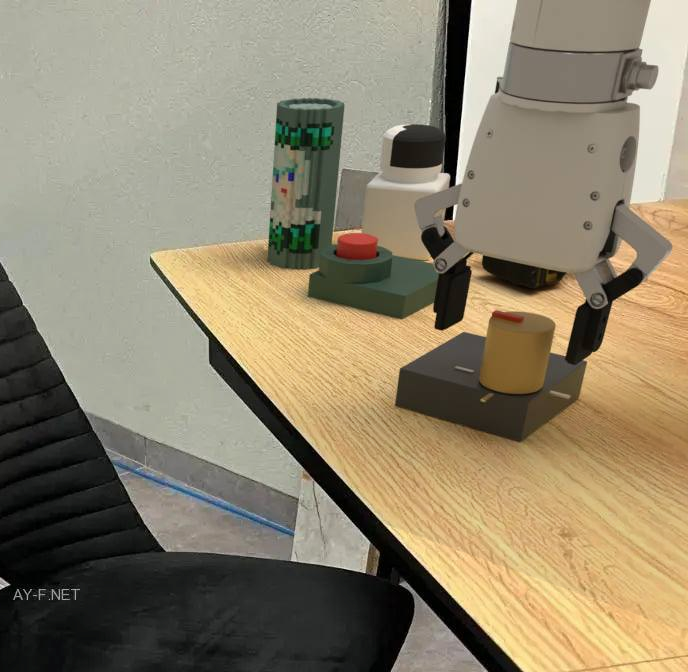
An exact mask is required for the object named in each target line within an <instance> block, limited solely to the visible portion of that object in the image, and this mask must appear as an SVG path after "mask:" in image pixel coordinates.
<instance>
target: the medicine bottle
mask: <svg viewBox="0 0 688 672" xmlns="http://www.w3.org/2000/svg"><path fill="white" fill-rule="evenodd" d="M446 138H447V135H446V133H445V131H444V130H442V129H440V128H438V127H436V126H434V125H429V124H418V123H409V124H399V125H395V126H393V127H390V128H388V129H387V130H386V131H385V132H384V133H383V135H382V144H381V154H380V162H379V163H380V164H379V170H380V171H379V172H378V173H377V174H376V175H375V176H374V177H373V178H372V179H371V180H370V181H369V182H368V183H366V187H365V197H364V204H363V205H364V206H363V215H362V222H361V223H362V225H361V233H363V234H369V235H373V236H375V237H377V238H378V244H377V246H381V247H384V248H386V249H388V250H389V251H391V252H392V255H394V256H399V257H404V258H409V259H414V260H419V261H423V262H428V260H430V258H431V255H430V254H429V252H428V251H427V249H426V247H425V246H424V244H423V243H422V240H421V234H422V231H421V229H420V227H419V224H418V220H417V217H416V213H415V209H414V204H415V202H416V201H417V200H418V199H421V198H423V197H426V196H429V195H431V194H434V193H437V192H439V191H442V190H445V189H448V188H450V181H451V175H450V173H447V172H446V173H445V172H442V168H443V160H444V153H445V146H446ZM446 211H447V208H445V209H444V210H443V212H442V218H443V221H442V222H443V225H444V222H445V216H446Z"/></svg>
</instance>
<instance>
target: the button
mask: <svg viewBox="0 0 688 672" xmlns="http://www.w3.org/2000/svg"><path fill="white" fill-rule="evenodd" d="M336 244H337V254H336V256H337V257H339V258H344V259H349V260H367V259H374V258H376V253H377V244H378V238H377V237H375V236H373V235H369V234H363V233H362V232H349V233H345V234H341V235H339V236H338V237H337V243H336Z"/></svg>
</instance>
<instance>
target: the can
mask: <svg viewBox="0 0 688 672" xmlns="http://www.w3.org/2000/svg"><path fill="white" fill-rule="evenodd" d="M344 114H345V102H344V101H343V102H342V101H341V100H337V99H330V98H325V97H324V98H319V97H313V98H312V97H301V98H290V99H284V100H280V101H278V102H277V103H276V115H275V116H276V118H275V130H274V131H275V133H274V145H273V146H274V148H273V163H272V180H271V194H270V195H271V196H270V211H269V212H270V213H269V229H268V245H267V262H268V263H270V265H272V266H274V267H278V268H282V269H291V270H293V271H294V270H298V271H299V270H304V271H306V270H309V269H311V270H316V269H319V264H320V254H321V250H322V249H323V248H326V247H328V246H330V245H333V235H334V234H333V233H334V225H335V213H336V204H337V203H336V202H337V193H338V180H339V172H340V171H339V170H340V169H339V168H340V161H341V160H340V158H341V148H342V138H343V128H344V127H343V125H344V116H345V115H344Z"/></svg>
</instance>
